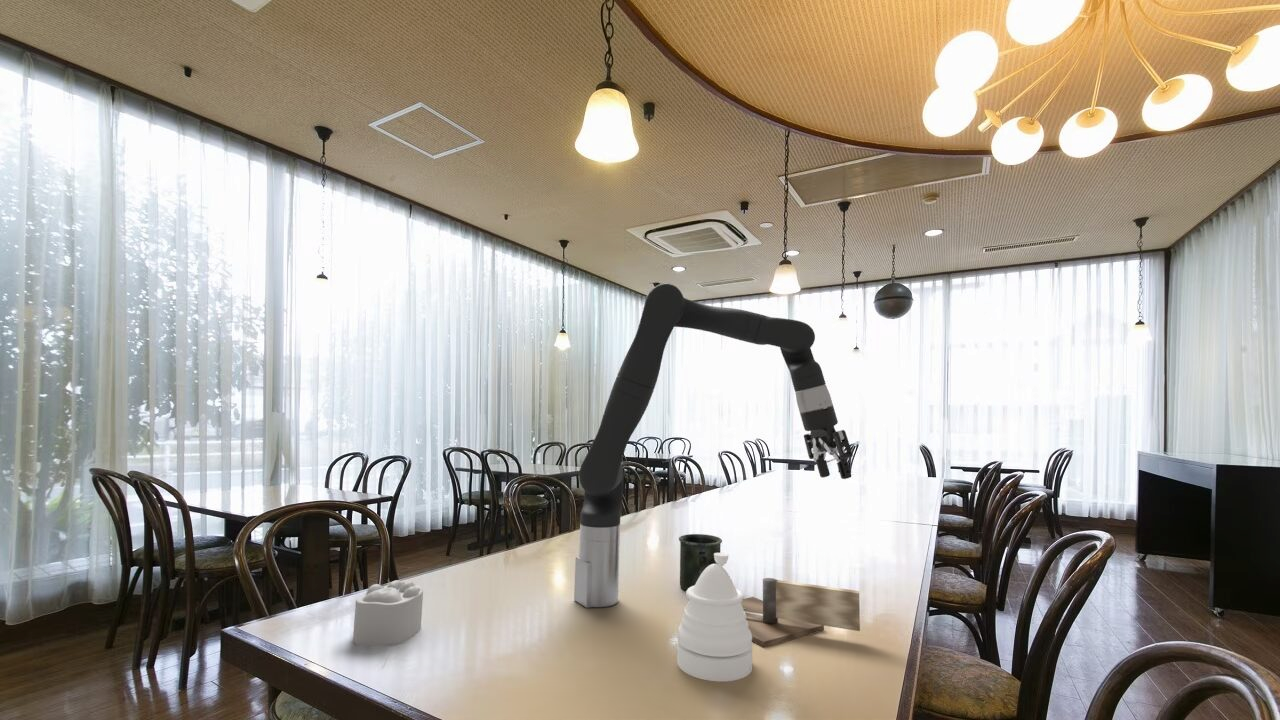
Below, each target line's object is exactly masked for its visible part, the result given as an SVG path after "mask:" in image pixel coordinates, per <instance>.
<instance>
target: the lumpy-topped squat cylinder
mask: <svg viewBox="0 0 1280 720" xmlns="http://www.w3.org/2000/svg"><path fill="white" fill-rule="evenodd" d="M423 597H424V589H423V587H422V586H421V585H419V584H416V583H414V582H413V581H412V580H408V581H405V582H402V581H401V580H397V579H396V580H393V581H391V582H390V583H389V584H388V585H385V586H384V585H381V584H379V583H375V584H372V585H371V586H369V587H368V589H367V591H366V593H364V594H362V595H360V596H359V597H358V598H356V599H355V606H354V607H355V608H354V619H353V632H352V634H353V636H352V642H353V643H354V644H356V645H365V646H366V645H372V646H373V645H374V646H378V647H391V646H396V645H399V644H403V643H404V642H406V641H408V640H410V639H411V638H413V637H414V636H416V634H418V633H419V632H420V631H421V629H422V617H423V616H422V615H423V600H424V598H423Z"/></svg>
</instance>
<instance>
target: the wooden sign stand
mask: <svg viewBox="0 0 1280 720" xmlns="http://www.w3.org/2000/svg"><path fill="white" fill-rule="evenodd" d="M741 604H742V607H743V611H745V612H752V613H758V614H763V599H760V598H757V597H755V596H751V597H746V598H745V597H744V598H743V600H742V602H741ZM746 620H747V622H748V628H749V630H750V632H751V634H752V643H754V644H756V645H758V646H761V647H762V648H767V647H770V646H775V645H777V644H780V643H784V642H788V641H791V640H795V639H798V638H802V637H804V636H809V635H811V634H815V633H819V632H822V630H823V631H825V626H824V625H817V624H811V623H805V622H799V621H792V620H786V619H780V618H778V622H777V623H766V622H764V621H763V618H757V617H750V616H746Z"/></svg>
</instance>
